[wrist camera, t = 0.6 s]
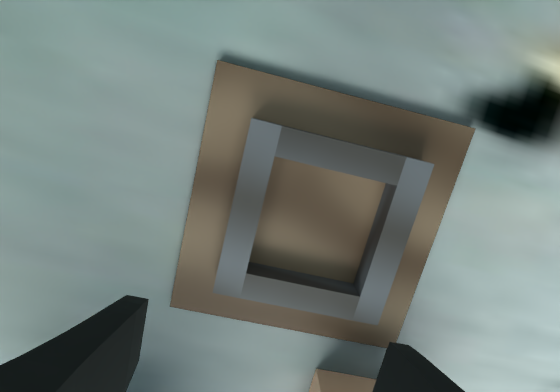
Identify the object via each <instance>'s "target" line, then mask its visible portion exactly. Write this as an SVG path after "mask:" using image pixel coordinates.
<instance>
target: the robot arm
mask: <svg viewBox="0 0 560 392" xmlns="http://www.w3.org/2000/svg"><path fill="white" fill-rule="evenodd" d="M147 306H148V299H146V298H140V297H134V296H129V295H126V296H124V297H123V298H121V299H119V300H118V301H116V302H114V303H113V304H111V305H109V306H108V307H106V308H105V309H103V310H101V311H100V312H98V313H96V314H95V315H93V316H92V317H90V318H88V319H87V320H85V321H83V322H82V323H80V324H78V325H76V326H75V327H73V328H71V329H70V330H68V331H66V332H64V333H63V334H61V335H59V336H57V337H55V338H53V339H51V340H49V341H48V342H46V343H44V344H42V345H40V346H38V347H36V348H34V349H33V350H31V351H29V352H27V353H25V354H23V355H21V356H19V357H17V358H15V359H13V360H10V361H8V362H6V363H4V364H2V365H0V392H126V390H127V388H128V385H129V383H130V381H131V378H132V376H133V373H134V371H135V368H136V366H137V364H138V361H139V356H140V349H141V343H142V337H143V331H144V324H145V318H146V312H147ZM372 392H465V391H464V390H462V389H461V388H460V387H459V386H458V385H456V384H455V383H454V382H453V381H452V380H451V379H449V378H448V377H447V376H446V375H445V374H444V373H442V372H441V371H440V370H439V369H438V368H437V367H435V366H434V365H433V364H432V363H431V362H430V361H428V360H427V359H426V358H425V357H424V356H422V355H421V354H420V353H419V352H417V351H416V350H415V349H413V348H412V347H410V346H409V345H405V344H399V343H394V342H389V345H388V348H387V350H386V353H385V356H384V359H383V362H382V365H381V368H380V371H379V374H378V377H377V380H376V382H375V385H374V388H373V391H372Z"/></svg>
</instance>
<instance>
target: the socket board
mask: <svg viewBox="0 0 560 392" xmlns="http://www.w3.org/2000/svg"><path fill="white" fill-rule="evenodd" d="M474 131H475V128H471V127H468V126H464V125H460V124H456V123H453V122H449V121H445V120H441V119H438V118H434V117H430V116H426V115H423V114H419V113H415V112H411V111H408V110H404V109H400V108H396V107H392V106H389V105H385V104H381V103H377V102H374V101H370V100H366V99H362V98H359V97H355V96H351V95H347V94H344V93H340V92H336V91H332V90H328V89H325V88H321V87H317V86H313V85H310V84H306V83H302V82H298V81H295V80H291V79H287V78H283V77H280V76H276V75H272V74H268V73H265V72H261V71H257V70H253V69H249V68H246V67H242V66H238V65H234V64H231V63H227V62H223V61H219V60H217V64H216V70H215V75H214V80H213V85H212V90H211V95H210V101H209V106H208V111H207V116H206V121H205V127H204V132H203V137H202V142H201V147H200V152H199V158H198V163H197V168H196V173H195V178H194V184H193V189H192V194H191V199H190V204H189V209H188V215H187V220H186V225H185V230H184V235H183V241H182V246H181V251H180V256H179V261H178V266H177V272H176V277H175V282H174V287H173V292H172V298H171V303H170V307H174V308H180V309H185V310H190V311H195V312H201V313H206V314H211V315H216V316H222V317H227V318H232V319H237V320H242V321H248V322H253V323H258V324H263V325H269V326H274V327H279V328H284V329H290V330H295V331H300V332H305V333H310V334H316V335H321V336H326V337H331V338H337V339H342V340H347V341H352V342H358V343H363V344H368V345H373V346H378V347H384V348H388V345H389V342H394V343H396V341H397V338H398V336H399V333H400V330H401V328H402V325H403V322H404V320H405V317H406V314H407V311H408V309H409V306H410V303H411V301H412V298H413V295H414V293H415V290H416V287H417V285H418V282H419V279H420V276H421V274H422V271H423V268H424V266H425V263H426V260H427V258H428V255H429V252H430V250H431V247H432V244H433V241H434V239H435V236H436V233H437V231H438V228H439V225H440V223H441V220H442V217H443V215H444V212H445V209H446V207H447V204H448V201H449V198H450V196H451V193H452V190H453V188H454V185H455V182H456V180H457V177H458V174H459V172H460V169H461V166H462V163H463V161H464V158H465V155H466V153H467V150H468V147H469V145H470V142H471V139H472V137H473V134H474Z"/></svg>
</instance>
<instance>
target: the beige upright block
mask: <svg viewBox="0 0 560 392" xmlns="http://www.w3.org/2000/svg"><path fill="white" fill-rule="evenodd" d="M376 380H377V379H371V378H366V377H360V376H355V375H349V374H344V373H338V372H333V371H327V370H321V369H316V370H315V374H314V377H313V380H312V383H311V386H310V389H309V392H372V391H373V388H374V385H375V382H376Z"/></svg>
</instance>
